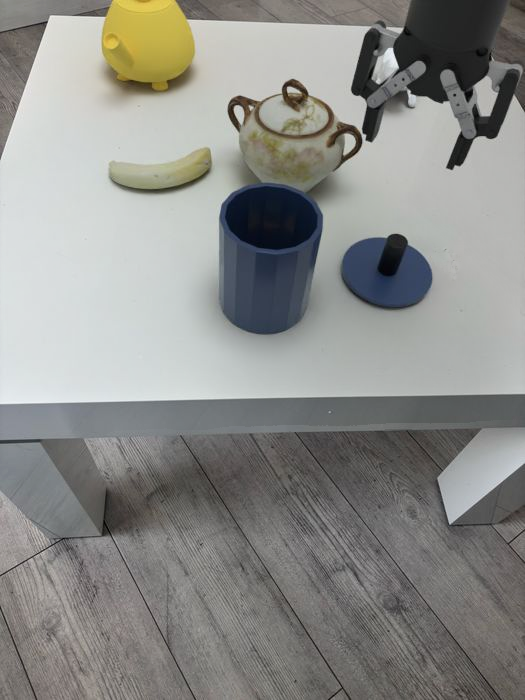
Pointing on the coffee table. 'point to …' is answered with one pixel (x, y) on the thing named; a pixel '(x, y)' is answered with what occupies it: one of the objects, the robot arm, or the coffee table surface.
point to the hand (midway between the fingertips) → (410, 151)
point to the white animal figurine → (388, 68)
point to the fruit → (162, 171)
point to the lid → (387, 271)
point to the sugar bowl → (292, 137)
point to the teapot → (147, 41)
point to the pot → (267, 256)
